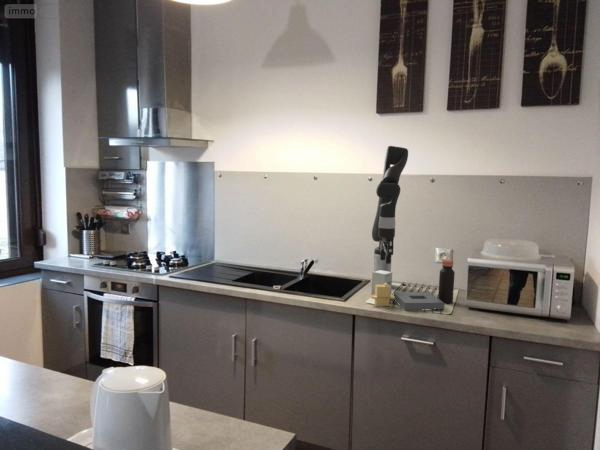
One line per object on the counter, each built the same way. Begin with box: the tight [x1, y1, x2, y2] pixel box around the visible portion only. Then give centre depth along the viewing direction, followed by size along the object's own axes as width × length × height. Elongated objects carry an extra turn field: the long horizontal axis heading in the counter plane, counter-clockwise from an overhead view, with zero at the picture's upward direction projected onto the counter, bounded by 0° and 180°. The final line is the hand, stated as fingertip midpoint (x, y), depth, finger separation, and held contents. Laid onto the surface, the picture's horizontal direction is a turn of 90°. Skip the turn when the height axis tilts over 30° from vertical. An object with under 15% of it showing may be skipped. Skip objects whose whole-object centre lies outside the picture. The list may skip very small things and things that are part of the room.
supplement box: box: [370, 270, 393, 295], centre depth 231 cm, size 7×7×13 cm
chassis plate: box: [393, 291, 445, 311], centre depth 219 cm, size 18×18×4 cm
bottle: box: [437, 259, 456, 305], centre depth 224 cm, size 7×7×20 cm
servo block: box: [369, 283, 395, 307], centre depth 218 cm, size 4×11×10 cm, turn 94°
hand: (385, 261), depth 216 cm, fingers open, 8 cm apart
